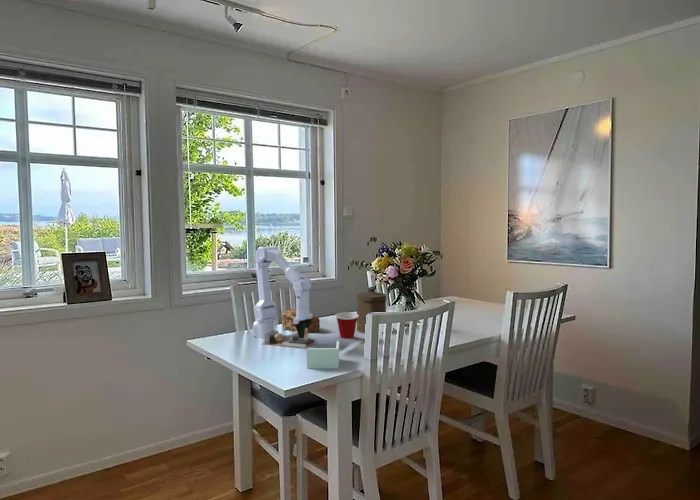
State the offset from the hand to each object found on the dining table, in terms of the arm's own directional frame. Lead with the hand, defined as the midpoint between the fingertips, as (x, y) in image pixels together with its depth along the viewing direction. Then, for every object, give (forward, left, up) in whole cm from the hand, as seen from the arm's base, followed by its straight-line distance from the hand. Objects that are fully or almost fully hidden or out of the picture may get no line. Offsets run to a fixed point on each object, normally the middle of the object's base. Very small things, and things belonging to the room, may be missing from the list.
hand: (303, 336), depth 217 cm
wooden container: (+17, +42, -5) cm, 46 cm away
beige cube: (-1, 0, -3) cm, 4 cm away
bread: (-16, +30, -5) cm, 34 cm away
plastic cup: (+13, +19, -5) cm, 24 cm away
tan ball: (-12, 0, -3) cm, 13 cm away
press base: (-7, 0, -5) cm, 9 cm away
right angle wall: (+18, -18, -5) cm, 26 cm away
